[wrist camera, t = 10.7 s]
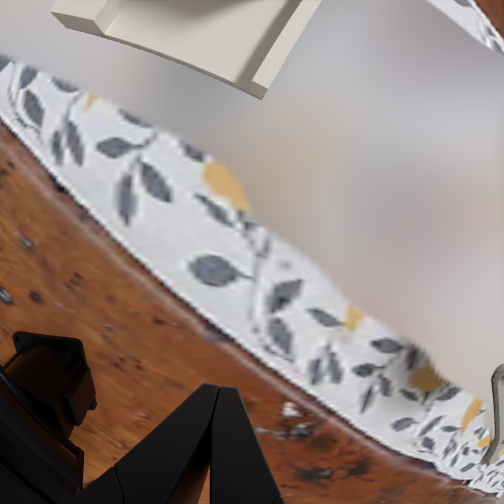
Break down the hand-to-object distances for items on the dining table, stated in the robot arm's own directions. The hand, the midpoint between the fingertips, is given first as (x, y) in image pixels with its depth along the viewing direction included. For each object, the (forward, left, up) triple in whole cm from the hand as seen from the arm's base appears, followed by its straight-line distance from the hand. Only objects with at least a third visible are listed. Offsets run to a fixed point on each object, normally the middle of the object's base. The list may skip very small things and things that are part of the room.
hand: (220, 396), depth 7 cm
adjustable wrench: (+39, -23, -14) cm, 48 cm away
